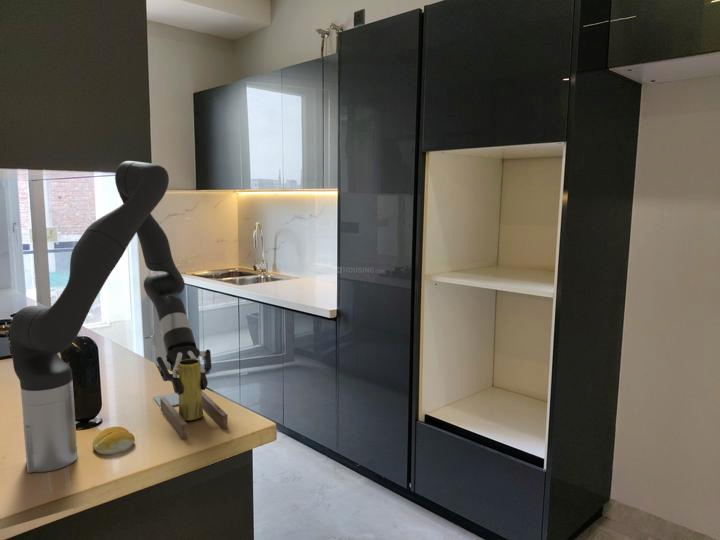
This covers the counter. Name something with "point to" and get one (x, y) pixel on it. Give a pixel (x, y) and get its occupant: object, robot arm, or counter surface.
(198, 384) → the vase
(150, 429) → the counter surface
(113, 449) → the bread roll
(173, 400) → the pad
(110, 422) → the counter surface
